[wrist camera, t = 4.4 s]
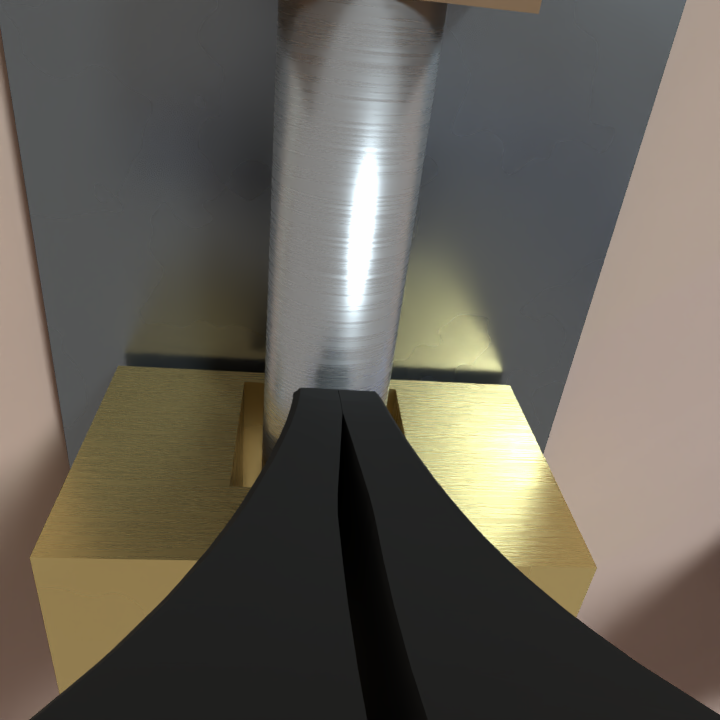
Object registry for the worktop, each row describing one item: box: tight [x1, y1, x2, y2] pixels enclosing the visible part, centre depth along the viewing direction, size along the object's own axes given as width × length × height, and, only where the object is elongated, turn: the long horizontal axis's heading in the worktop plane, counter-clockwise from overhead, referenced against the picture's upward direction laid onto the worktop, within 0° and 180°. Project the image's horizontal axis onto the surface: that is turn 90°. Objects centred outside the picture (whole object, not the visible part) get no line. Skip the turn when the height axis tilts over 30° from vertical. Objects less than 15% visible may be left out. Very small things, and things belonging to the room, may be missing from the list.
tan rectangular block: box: [30, 366, 597, 694], centre depth 14 cm, size 9×4×6 cm, turn 84°
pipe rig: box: [0, 0, 686, 471], centre depth 15 cm, size 12×22×4 cm, turn 174°
